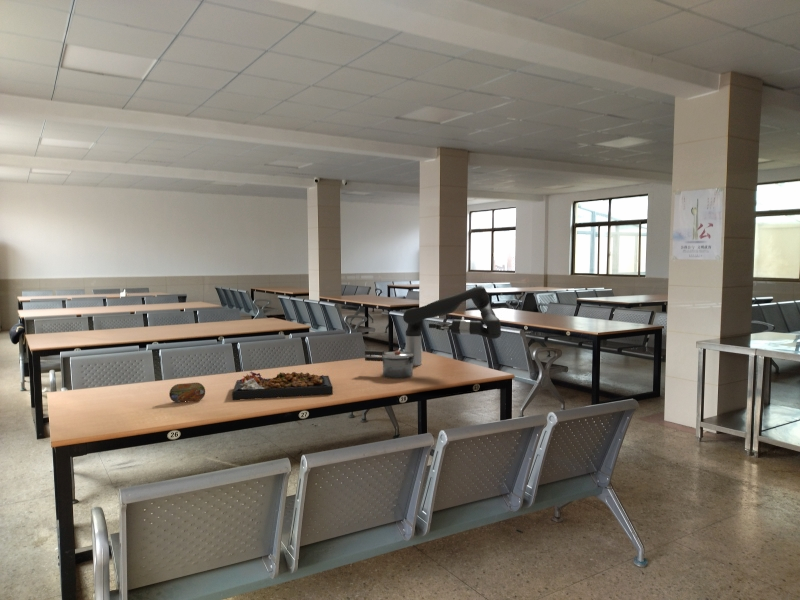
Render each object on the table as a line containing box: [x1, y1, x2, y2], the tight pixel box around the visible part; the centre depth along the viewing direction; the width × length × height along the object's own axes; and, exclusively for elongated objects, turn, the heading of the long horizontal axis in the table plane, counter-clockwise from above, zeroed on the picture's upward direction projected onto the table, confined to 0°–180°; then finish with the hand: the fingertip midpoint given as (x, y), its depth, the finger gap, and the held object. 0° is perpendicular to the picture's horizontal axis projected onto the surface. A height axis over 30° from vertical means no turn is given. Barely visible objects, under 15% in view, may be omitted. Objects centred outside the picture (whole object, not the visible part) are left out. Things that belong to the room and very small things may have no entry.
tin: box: [169, 382, 206, 403], centre depth 257 cm, size 15×3×8 cm, turn 106°
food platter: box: [231, 368, 334, 401], centre depth 275 cm, size 45×25×10 cm, turn 101°
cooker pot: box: [364, 355, 415, 380], centre depth 310 cm, size 27×16×10 cm, turn 73°
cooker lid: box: [364, 349, 415, 359], centre depth 309 cm, size 27×17×3 cm, turn 73°
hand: (429, 325), depth 302 cm, fingers closed
